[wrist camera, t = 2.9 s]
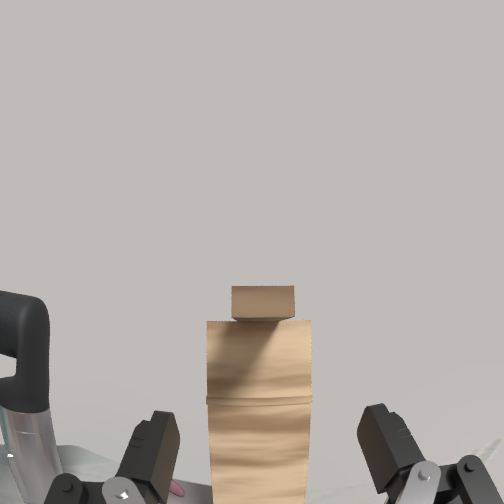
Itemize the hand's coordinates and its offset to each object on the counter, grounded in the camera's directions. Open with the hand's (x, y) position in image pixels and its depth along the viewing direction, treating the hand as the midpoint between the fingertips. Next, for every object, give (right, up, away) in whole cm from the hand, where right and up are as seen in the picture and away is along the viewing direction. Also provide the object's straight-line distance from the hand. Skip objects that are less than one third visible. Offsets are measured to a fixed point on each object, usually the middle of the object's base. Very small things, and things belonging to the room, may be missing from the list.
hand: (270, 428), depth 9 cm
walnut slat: (0, 0, +18) cm, 18 cm away
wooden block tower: (0, -32, +12) cm, 34 cm away
